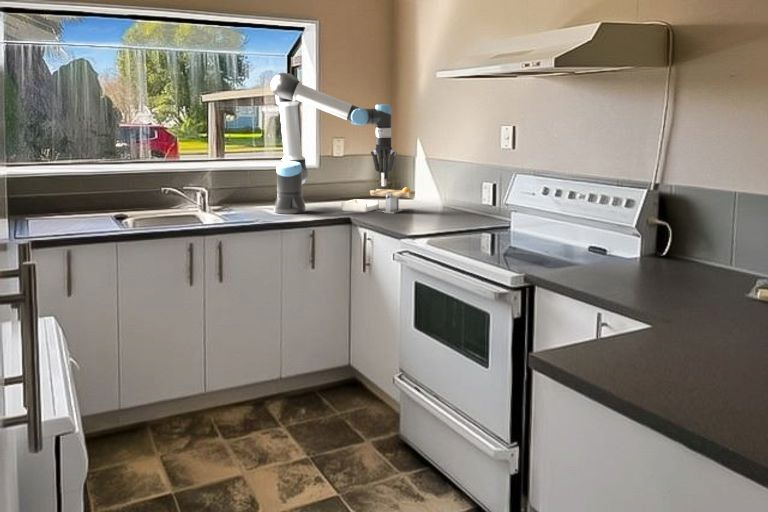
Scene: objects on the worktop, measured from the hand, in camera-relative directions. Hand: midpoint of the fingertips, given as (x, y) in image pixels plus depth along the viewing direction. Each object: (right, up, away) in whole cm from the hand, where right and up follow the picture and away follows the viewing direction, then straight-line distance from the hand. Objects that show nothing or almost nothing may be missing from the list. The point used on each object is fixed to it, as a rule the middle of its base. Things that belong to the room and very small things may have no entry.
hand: (383, 185), depth 362 cm
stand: (+4, -13, -7) cm, 15 cm away
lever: (+5, -5, -6) cm, 9 cm away
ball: (+11, -4, -12) cm, 16 cm away
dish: (-11, -12, 0) cm, 16 cm away
